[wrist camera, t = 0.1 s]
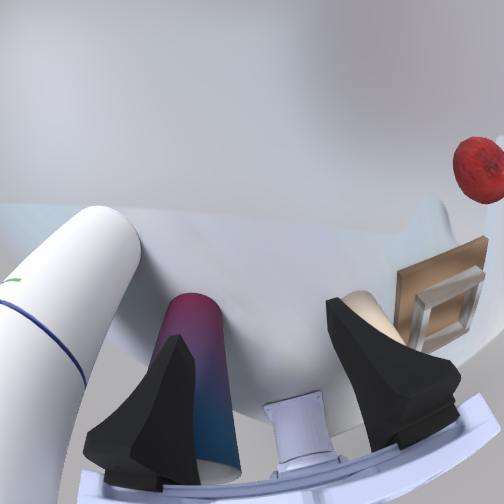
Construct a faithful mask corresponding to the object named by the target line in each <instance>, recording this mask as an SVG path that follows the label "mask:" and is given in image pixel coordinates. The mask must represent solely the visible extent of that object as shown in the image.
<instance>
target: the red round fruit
mask: <svg viewBox="0 0 504 504" xmlns="http://www.w3.org/2000/svg"><path fill="white" fill-rule="evenodd" d="M453 169H454V174H455V178H456V181H457V183H458V185H459V187H460V188H461V190H462V191H463V193H464V194H465V195H467V196H468V197H469V198H471V199H472V200H474V201H476V202H479V203H481V204H491V203H494V202H497V201H499V200H501V199H502V198H503V197H504V152H503V150H502V149H501V148H500V147H499V146H498V145H497V144H495V143H494V142H493V141H491V140H489V139H487V138H482V137H471V138H469V139H467V140H465V141H463V142H461V143H460V144H459V146H458V148H457V149H456V151H455V153H454V158H453Z"/></svg>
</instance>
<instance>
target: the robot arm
mask: <svg viewBox="0 0 504 504" xmlns="http://www.w3.org/2000/svg"><path fill="white" fill-rule="evenodd" d="M326 312H327V326H328V332H329V335H330V338H331V341H332V344H333V347H334V349H335V351H336V353H337V355H338V357H339V359H340V361H341V363H342V365H343V367H344V369H345V371H346V374H347V376H348V378H349V380H350V382H351V384H352V387H353V389H354V392H355V395H356V398H357V401H358V404H359V407H360V410H361V414H362V417H363V420H364V424H365V427H366V431H367V435H368V439H369V443H370V447H371V451H372V453H371V454H368V455H365V456H362V457H360V458H357V459H354V460H351V461H349V460H348V458H347V457H345V456H343V455H339V456H338V457H337V454H336V451H334V449H333V446H332V442H331V439H330V435H329V432H328V429H327V425H326V422H325V412H324V405H323V399H322V393H321V392H320V391H317V392H314V393H310V394H307V395H303V396H300V397H296V398H292V399H288V400H284V401H280V402H276V403H272V404H267V405H264V406H263V407H264V410H265V412H266V414H267V416H268V417H269V419H270V421H271V423H272V424H273V428H274V434H275V440H276V446H277V452H278V458H279V465H277V469H278V471H274V472H273V473H272V475H271V476H270V480H265V481H258V482H249V483H240V484H227V485H204V486H201V482H200V477H199V472H198V467H197V460H196V453H195V444H194V431H193V408H194V396H195V383H196V369H195V359H194V357H193V356H192V354H191V352H190V350H189V349H188V347H187V345H186V343H185V341H184V340H183V338H182V336H181V334H177V335H171V336H169V337H168V339H167V341H166V342H165V344H164V346H163V347H162V349H161V351H160V352H159V354H158V356H157V357H156V359H155V361H154V362H153V364H152V366H151V367H150V369H149V370H148V372H147V374H146V375H145V376H144V378H143V379H142V381H141V382H140V383H139V385H138V386H137V387H136V389H135V390H134V391H133V392H132V394H131V395H130V396H129V397H128V398H127V399H126V400H125V401H124V402H123V404H121V406H120V407H119V408H118V409H117V410H116V411H114V412H113V413H112V414H111V415H110V416H109V417H108V418H106V419H105V420H104V421H103V422H101V423H100V424H99V425H97V426H96V427H95V428H93V429H92V430H90V431H89V432H88V433H87V437H86V441H85V445H84V449H83V454H84V456H85V457H86V458H87V459H89V460H90V461H92V462H93V463H95V464H97V465H98V466H100V467H102V468H103V469H105V474H102V473H99V472H95V471H90V470H86V469H83V470H82V475H81V480H80V486H79V492H78V499H77V504H383V503H385V502H387V501H390V500H392V499H395V498H397V497H399V496H401V495H403V494H406V493H408V492H410V491H412V490H414V489H416V488H418V487H420V486H422V485H423V484H425V483H427V482H429V481H431V480H433V479H434V478H436V477H438V476H440V475H441V474H443V473H445V472H446V471H448V470H450V469H451V468H453V467H454V466H456V465H457V464H459V463H460V462H462V461H463V460H465V459H466V458H468V457H469V456H471V455H472V454H474V453H475V452H476V451H478V450H479V449H480V448H481V447H483V446H484V445H485V444H486V443H487V442H489V441H490V440H491V439H492V438H493V437H494V436H495V435H496V434H498V433H499V432H500V431H501V428H500V426H499V424H498V422H497V421H496V419H495V417H494V416H493V414H492V412H491V411H490V409H489V407H488V405H487V404H486V402H485V400H484V399H483V397H482V396H481V394H480V393H476V394H475V395H473V396H472V397H470V398H469V399H467V400H466V401H464V402H463V403H461V404H460V405H459V406H458V407H457V408H456V407H455V405H454V403H455V399H454V397H453V393H454V392H455V390H456V388H457V387H458V385H459V383H460V381H461V375H460V373H459V372H458V370H457V368H456V367H455V366H454V365H453V363H452V362H451V361H450V360H446V359H442V358H438V357H434V356H431V355H428V354H425V353H422V352H419V351H417V350H415V349H412V348H410V347H408V346H405V345H403V344H401V343H399V342H397V341H395V340H394V339H392V338H390V337H388V336H387V335H385V334H384V333H382V332H381V331H379V330H378V329H376V328H375V327H373V326H372V325H371V324H369V323H368V322H367V321H365V320H364V319H363V318H361V317H360V316H359V315H358V314H357V313H355V312H354V311H353V310H352V309H351V308H350V307H348V306H347V305H346V304H345V303H344V302H343V301H342V300H341V299H340V298H338V297H337V298H333V299H330V300H326ZM212 500H215V501H212Z"/></svg>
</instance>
